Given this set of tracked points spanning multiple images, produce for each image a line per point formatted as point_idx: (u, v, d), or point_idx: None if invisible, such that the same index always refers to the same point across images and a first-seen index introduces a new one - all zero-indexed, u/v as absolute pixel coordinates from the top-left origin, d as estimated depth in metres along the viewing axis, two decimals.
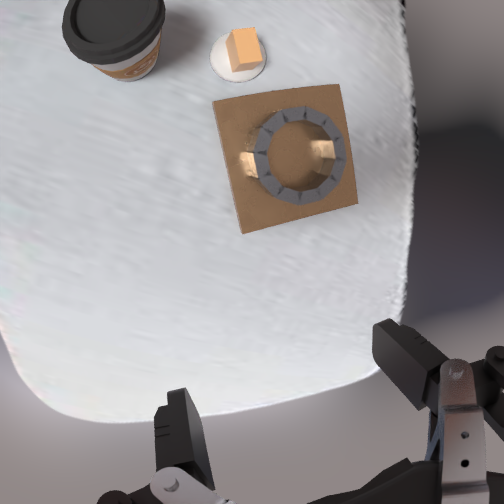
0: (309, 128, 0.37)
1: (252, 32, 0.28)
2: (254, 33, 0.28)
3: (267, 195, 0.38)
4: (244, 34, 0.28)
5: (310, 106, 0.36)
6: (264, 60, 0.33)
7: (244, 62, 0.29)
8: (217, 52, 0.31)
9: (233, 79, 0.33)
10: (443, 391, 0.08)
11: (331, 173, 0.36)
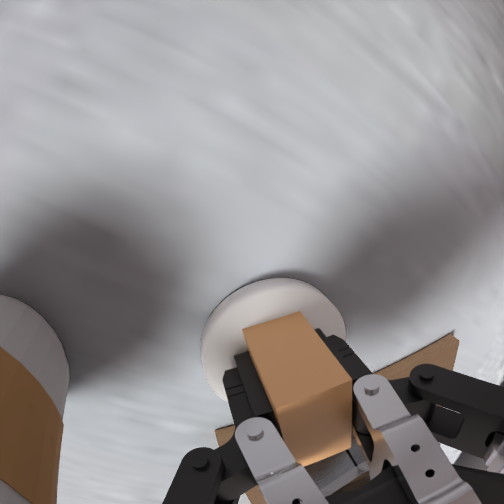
0: None
1: (342, 396, 0.09)
2: (346, 397, 0.09)
3: None
4: (315, 410, 0.09)
5: None
6: None
7: (303, 464, 0.10)
8: (220, 361, 0.13)
9: None
10: (368, 412, 0.08)
11: None
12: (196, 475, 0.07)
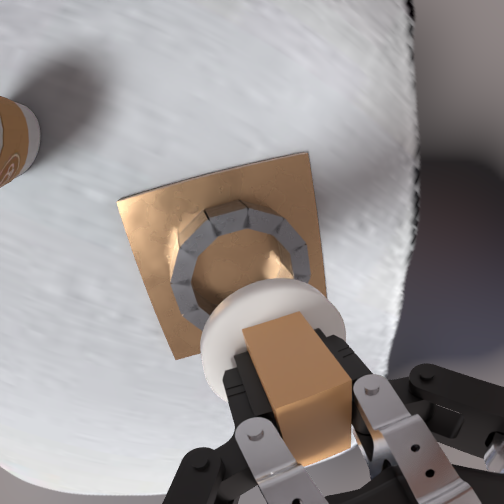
0: None
1: (341, 396, 0.09)
2: (346, 397, 0.09)
3: None
4: (314, 410, 0.09)
5: (261, 193, 0.26)
6: None
7: (303, 464, 0.10)
8: (220, 361, 0.13)
9: None
10: (368, 412, 0.08)
11: None
12: (196, 475, 0.07)
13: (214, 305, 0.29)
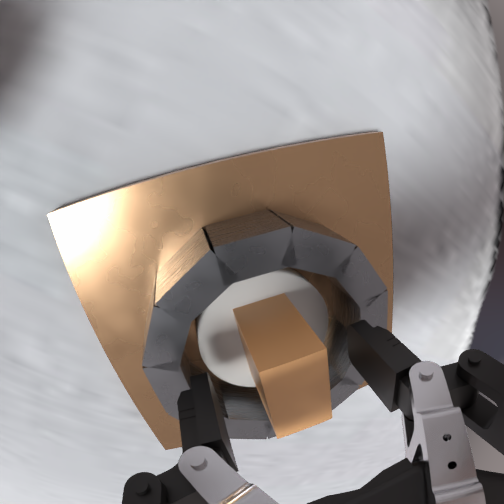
0: None
1: (318, 364, 0.11)
2: (323, 366, 0.11)
3: None
4: (294, 376, 0.10)
5: (308, 199, 0.15)
6: (324, 334, 0.16)
7: (288, 432, 0.12)
8: (213, 338, 0.14)
9: (254, 385, 0.16)
10: (416, 396, 0.08)
11: (347, 375, 0.15)
12: (137, 499, 0.07)
13: (223, 384, 0.16)
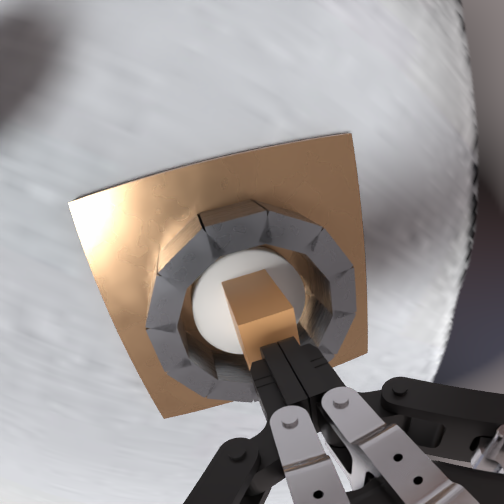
0: None
1: (288, 321, 0.13)
2: (291, 323, 0.14)
3: None
4: (268, 331, 0.13)
5: (285, 191, 0.17)
6: (302, 307, 0.19)
7: None
8: (206, 308, 0.17)
9: (242, 352, 0.19)
10: (341, 427, 0.08)
11: (322, 343, 0.18)
12: (234, 466, 0.07)
13: (215, 352, 0.19)
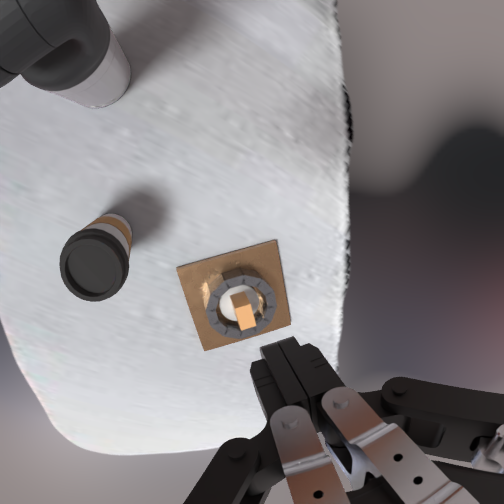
0: None
1: (249, 307, 0.47)
2: (250, 308, 0.47)
3: None
4: (243, 310, 0.47)
5: (251, 264, 0.51)
6: (258, 304, 0.53)
7: (244, 328, 0.48)
8: (224, 304, 0.51)
9: (236, 320, 0.53)
10: (341, 427, 0.08)
11: (264, 317, 0.52)
12: (234, 466, 0.07)
13: (226, 321, 0.53)
